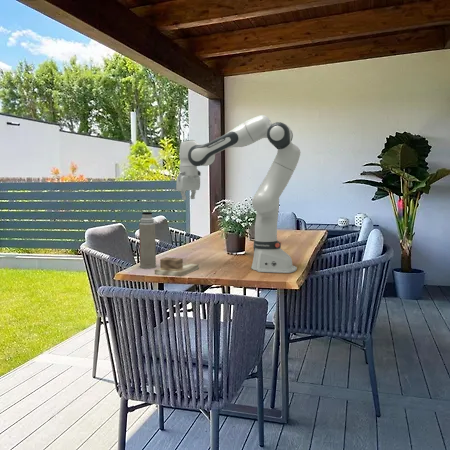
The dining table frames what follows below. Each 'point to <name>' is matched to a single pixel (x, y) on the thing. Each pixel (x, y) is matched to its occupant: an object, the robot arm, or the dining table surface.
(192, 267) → the board
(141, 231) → the thermos bottle
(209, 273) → the dining table surface
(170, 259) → the block
